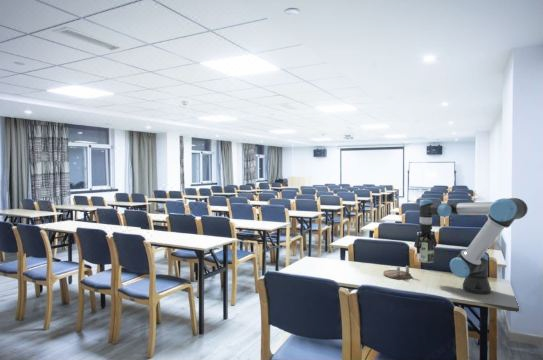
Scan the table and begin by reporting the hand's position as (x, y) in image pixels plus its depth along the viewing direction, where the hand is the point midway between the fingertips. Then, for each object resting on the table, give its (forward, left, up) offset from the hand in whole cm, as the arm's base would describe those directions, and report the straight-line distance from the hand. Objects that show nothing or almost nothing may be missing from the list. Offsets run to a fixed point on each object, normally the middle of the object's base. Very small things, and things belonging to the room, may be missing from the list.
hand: (425, 257), depth 237 cm
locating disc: (+19, +6, -16) cm, 26 cm away
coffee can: (0, 0, -3) cm, 3 cm away
